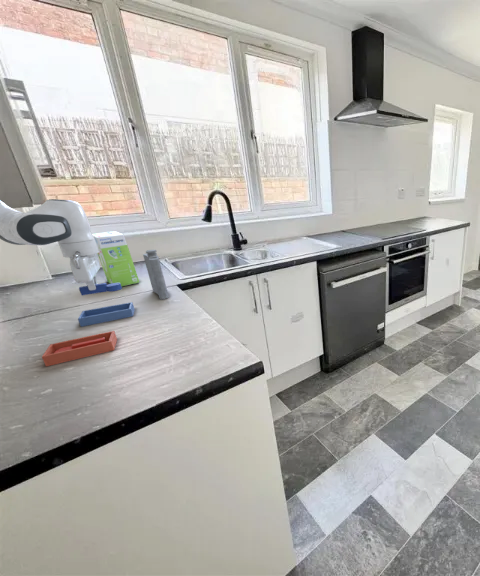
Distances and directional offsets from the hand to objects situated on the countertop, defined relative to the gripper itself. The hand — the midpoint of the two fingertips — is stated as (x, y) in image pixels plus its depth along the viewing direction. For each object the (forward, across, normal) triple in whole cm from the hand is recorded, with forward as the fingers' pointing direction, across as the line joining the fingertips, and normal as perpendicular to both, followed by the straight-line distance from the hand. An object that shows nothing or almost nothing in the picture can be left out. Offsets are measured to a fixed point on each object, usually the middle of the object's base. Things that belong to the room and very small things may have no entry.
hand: (93, 288), depth 107 cm
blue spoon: (+2, 0, -2) cm, 2 cm away
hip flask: (+12, +18, -17) cm, 28 cm away
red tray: (+12, -27, +2) cm, 29 cm away
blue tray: (+12, 0, -1) cm, 12 cm away
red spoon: (+11, -27, +2) cm, 29 cm away
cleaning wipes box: (+12, +52, -1) cm, 54 cm away
